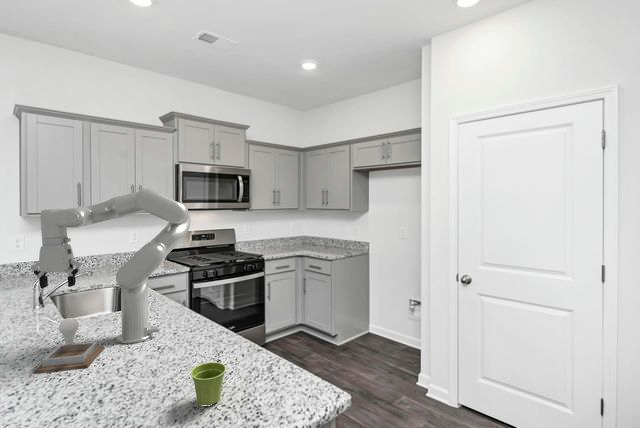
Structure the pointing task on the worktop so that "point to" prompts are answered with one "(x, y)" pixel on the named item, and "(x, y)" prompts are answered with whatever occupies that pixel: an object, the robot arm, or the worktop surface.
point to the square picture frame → (70, 360)
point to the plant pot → (208, 382)
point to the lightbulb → (69, 329)
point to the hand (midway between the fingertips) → (58, 286)
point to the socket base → (70, 367)
